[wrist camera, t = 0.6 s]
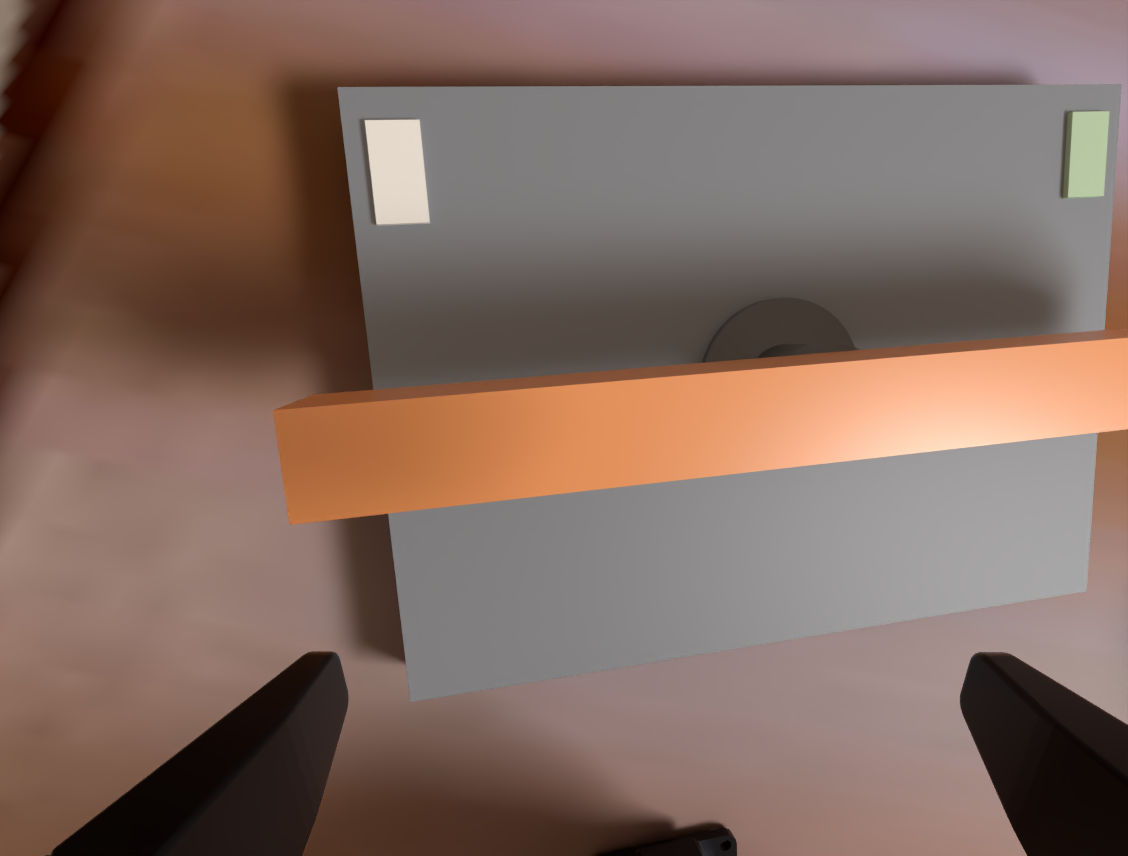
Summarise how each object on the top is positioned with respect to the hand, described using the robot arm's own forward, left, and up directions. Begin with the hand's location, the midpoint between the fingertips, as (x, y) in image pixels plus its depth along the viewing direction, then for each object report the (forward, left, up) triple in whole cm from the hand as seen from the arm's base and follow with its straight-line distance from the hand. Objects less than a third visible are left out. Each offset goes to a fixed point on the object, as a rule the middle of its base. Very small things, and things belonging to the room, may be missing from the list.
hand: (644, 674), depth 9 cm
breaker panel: (+3, -9, -15) cm, 17 cm away
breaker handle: (+3, -9, -12) cm, 16 cm away
